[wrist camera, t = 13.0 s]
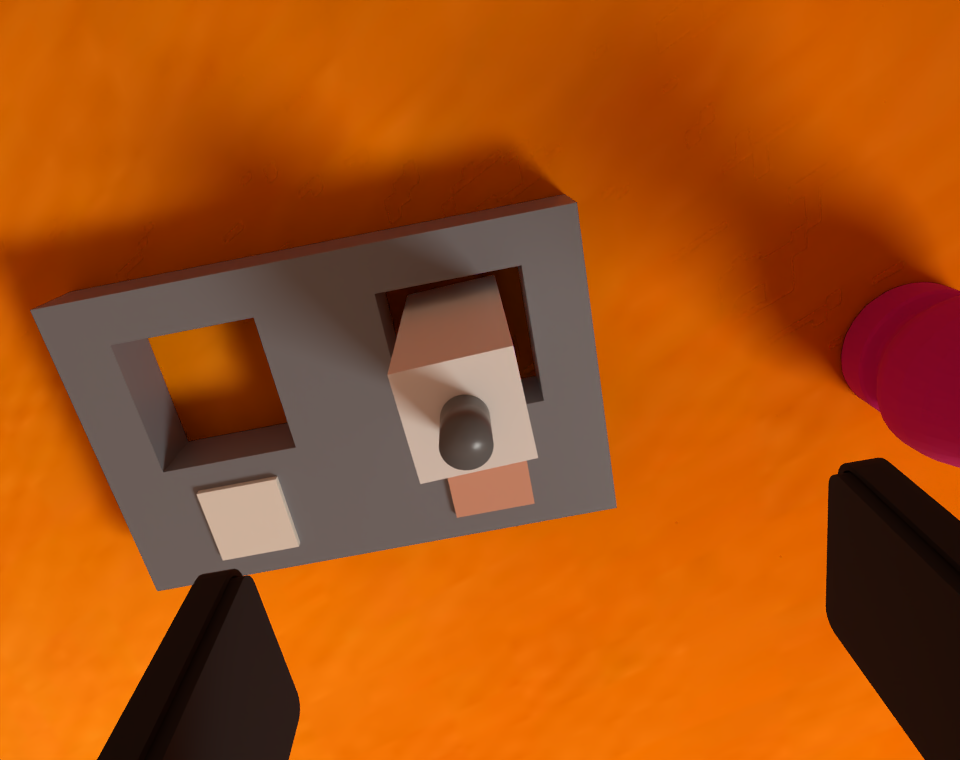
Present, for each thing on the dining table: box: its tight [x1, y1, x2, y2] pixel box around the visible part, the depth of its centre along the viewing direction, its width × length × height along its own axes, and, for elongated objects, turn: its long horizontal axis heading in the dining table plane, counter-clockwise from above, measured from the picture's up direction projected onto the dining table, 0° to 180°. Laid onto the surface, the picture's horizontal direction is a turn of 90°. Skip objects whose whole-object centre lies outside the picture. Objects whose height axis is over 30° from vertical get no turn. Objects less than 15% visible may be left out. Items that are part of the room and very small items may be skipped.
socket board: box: [30, 194, 617, 591], centre depth 30 cm, size 14×22×3 cm, turn 101°
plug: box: [387, 275, 538, 484], centre depth 25 cm, size 4×4×12 cm
